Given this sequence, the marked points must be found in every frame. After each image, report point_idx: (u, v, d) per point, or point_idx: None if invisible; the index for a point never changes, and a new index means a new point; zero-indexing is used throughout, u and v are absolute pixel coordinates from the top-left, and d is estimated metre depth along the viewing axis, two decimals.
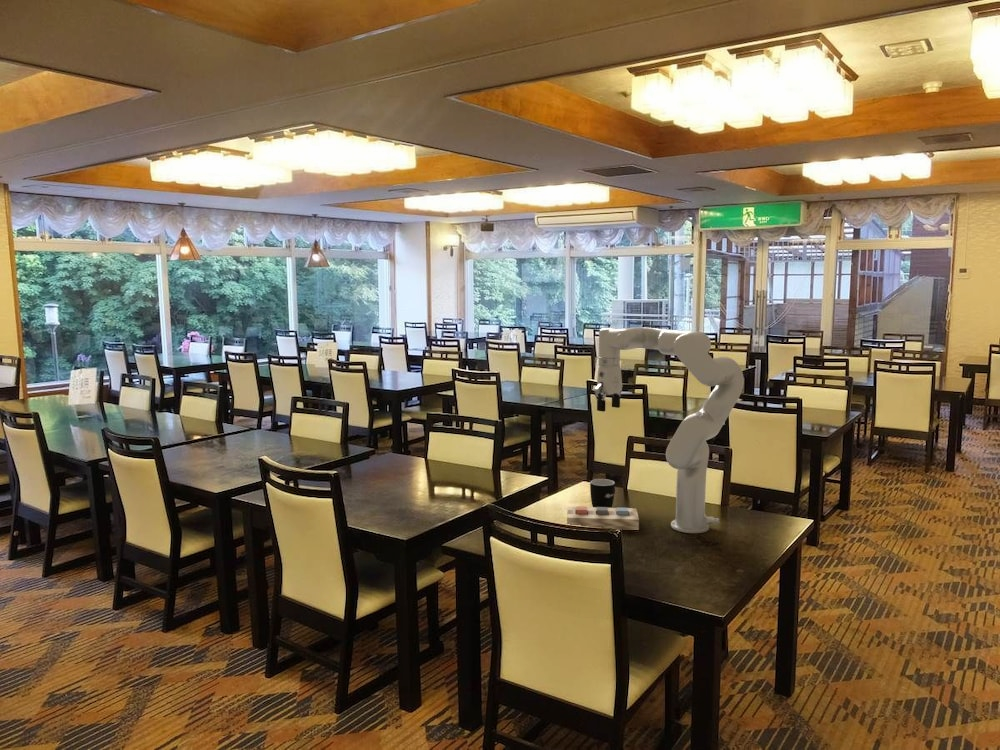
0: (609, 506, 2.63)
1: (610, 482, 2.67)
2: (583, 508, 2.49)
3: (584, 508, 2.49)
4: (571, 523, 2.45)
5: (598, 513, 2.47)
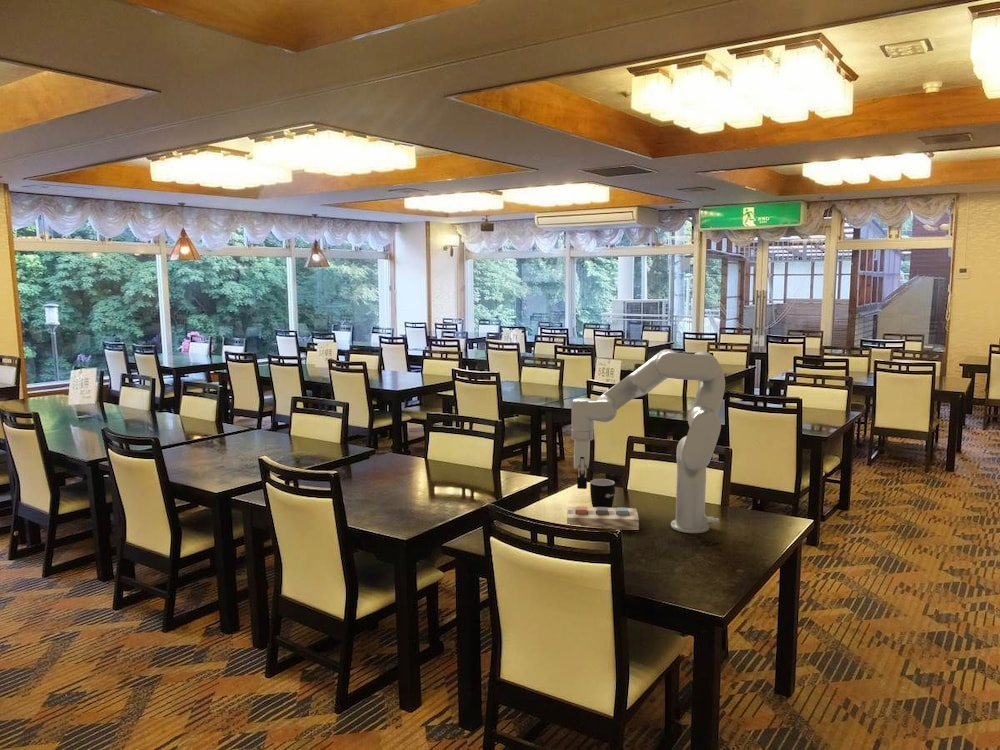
0: (609, 506, 2.63)
1: (610, 482, 2.67)
2: (583, 508, 2.49)
3: (584, 508, 2.49)
4: (571, 523, 2.45)
5: (598, 513, 2.47)
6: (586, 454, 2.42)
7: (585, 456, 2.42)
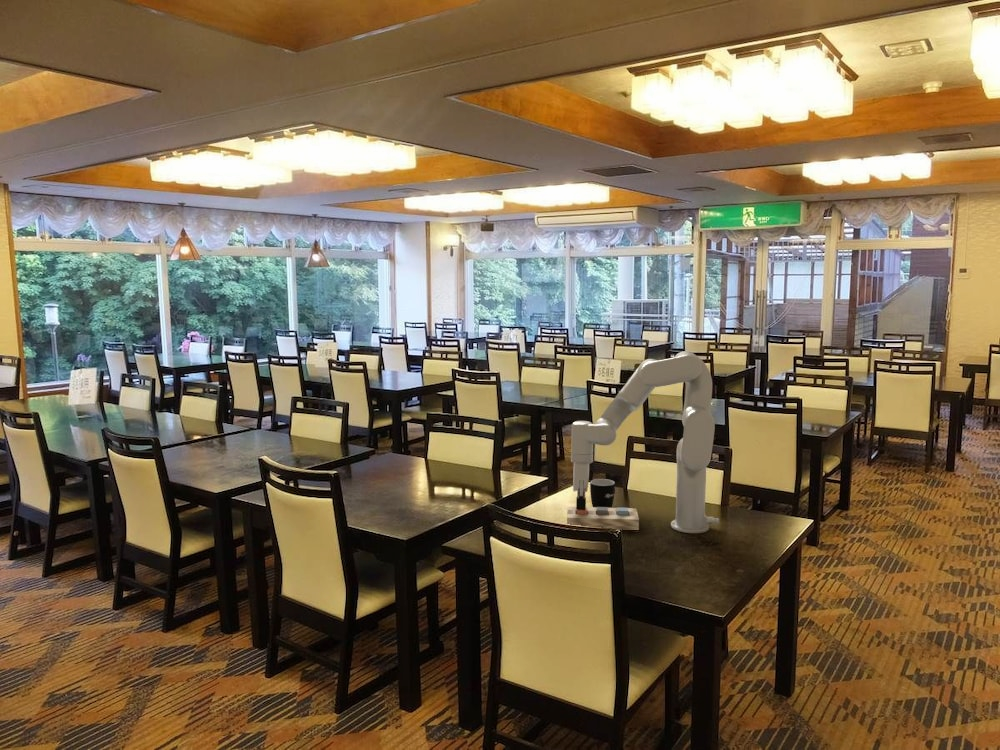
0: (609, 506, 2.63)
1: (610, 482, 2.67)
2: None
3: None
4: (571, 523, 2.45)
5: (598, 513, 2.47)
6: (585, 477, 2.43)
7: (584, 479, 2.43)
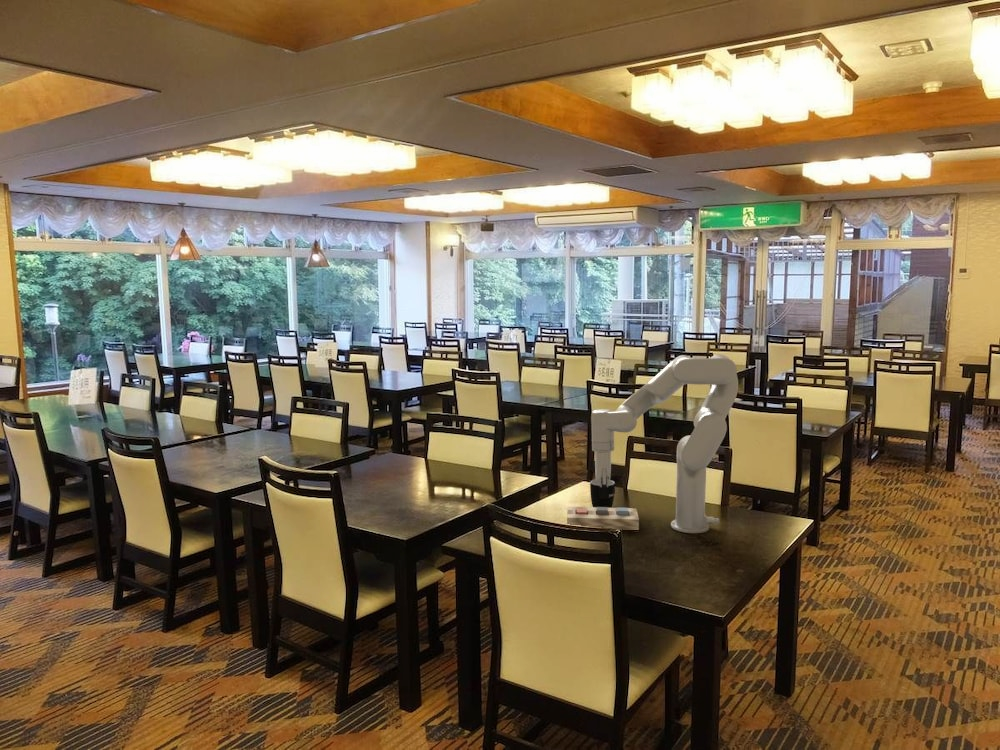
0: (609, 506, 2.63)
1: (610, 482, 2.67)
2: (583, 510, 2.49)
3: (584, 510, 2.49)
4: (571, 523, 2.45)
5: (598, 513, 2.47)
6: (608, 465, 2.42)
7: (607, 467, 2.42)
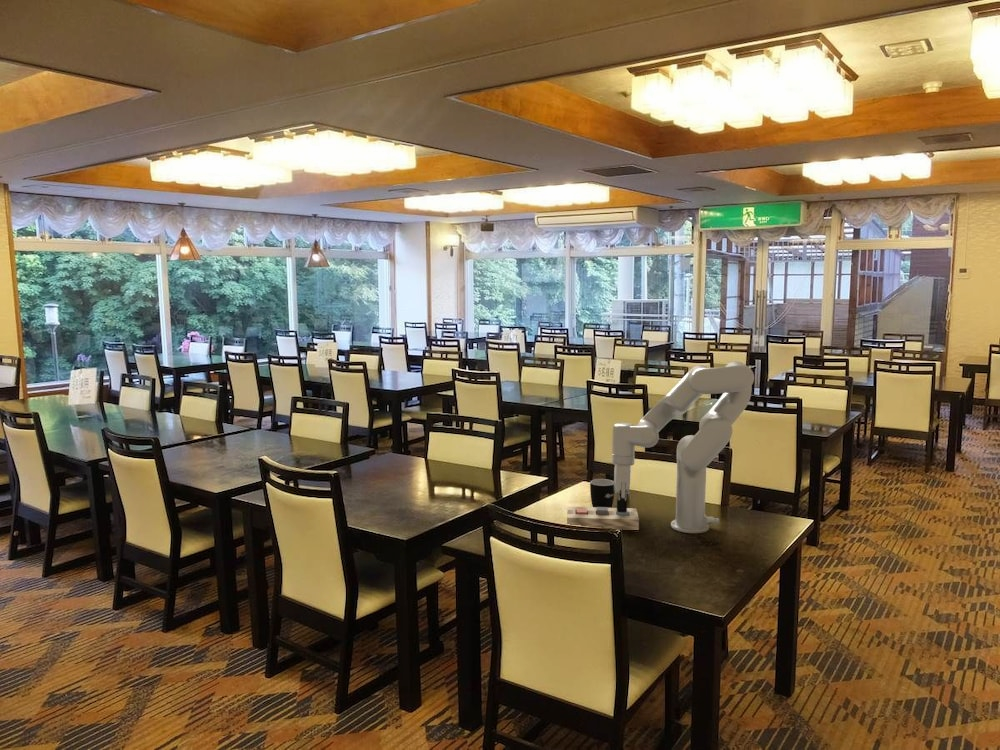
0: (609, 506, 2.63)
1: (610, 482, 2.67)
2: (583, 510, 2.49)
3: (584, 510, 2.49)
4: (571, 523, 2.45)
5: (598, 513, 2.47)
6: (627, 479, 2.42)
7: (626, 481, 2.42)
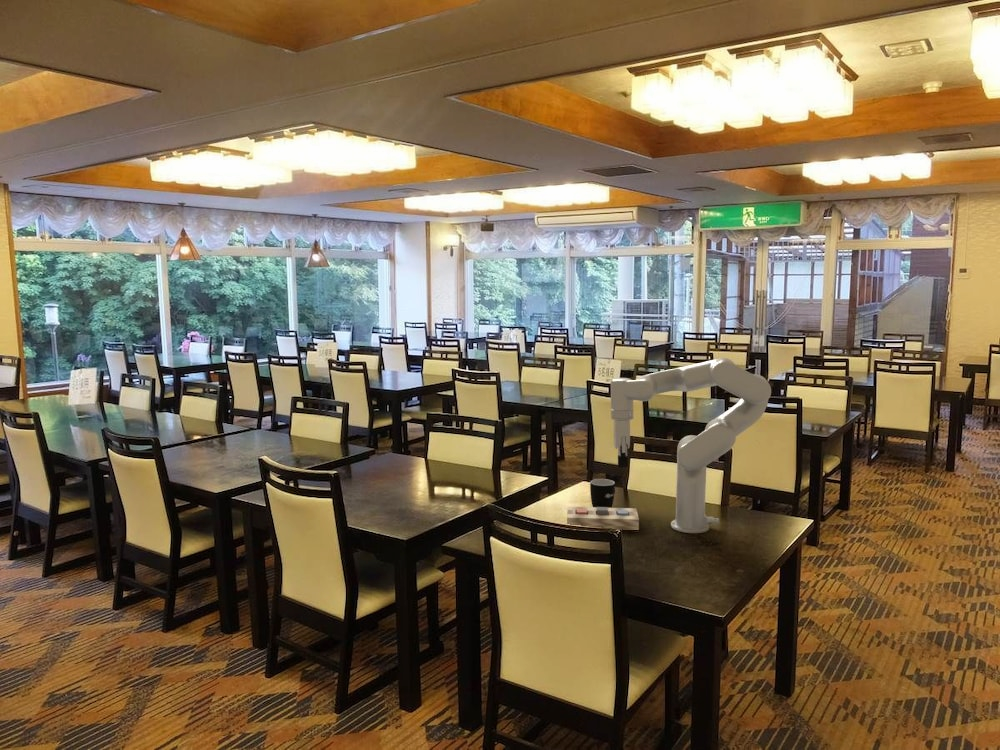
0: (609, 506, 2.63)
1: (610, 482, 2.67)
2: (583, 510, 2.49)
3: (584, 510, 2.49)
4: (571, 523, 2.45)
5: (598, 513, 2.47)
6: (627, 433, 2.42)
7: (626, 435, 2.42)
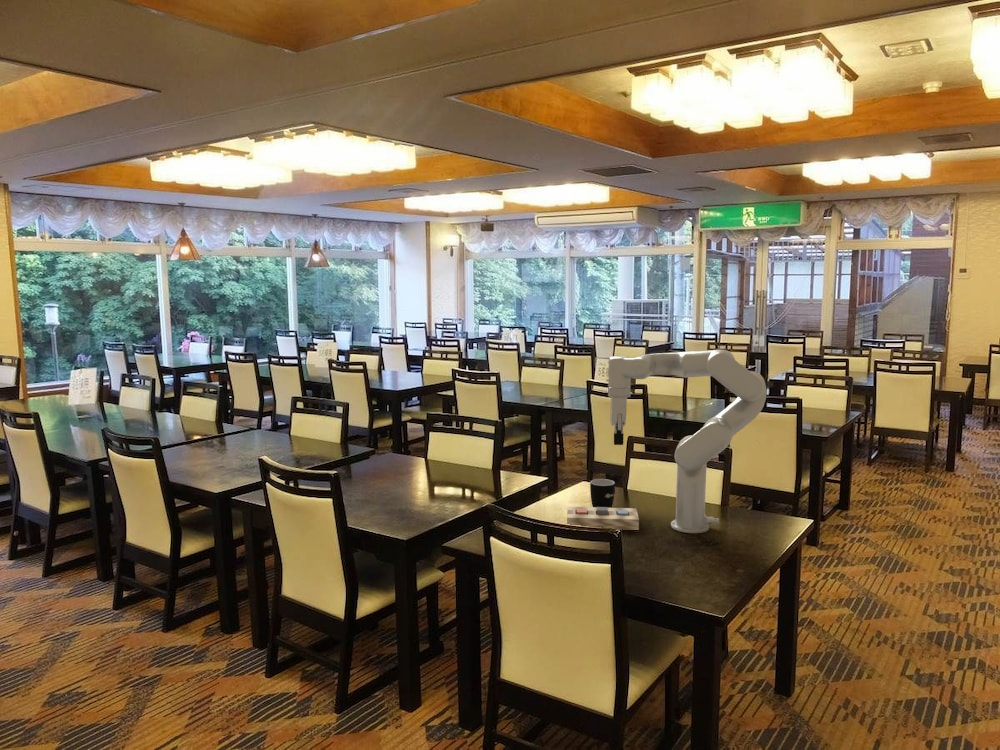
0: (609, 506, 2.63)
1: (610, 482, 2.67)
2: (583, 510, 2.49)
3: (584, 510, 2.49)
4: (571, 523, 2.45)
5: (598, 513, 2.47)
6: (623, 411, 2.44)
7: (622, 413, 2.44)
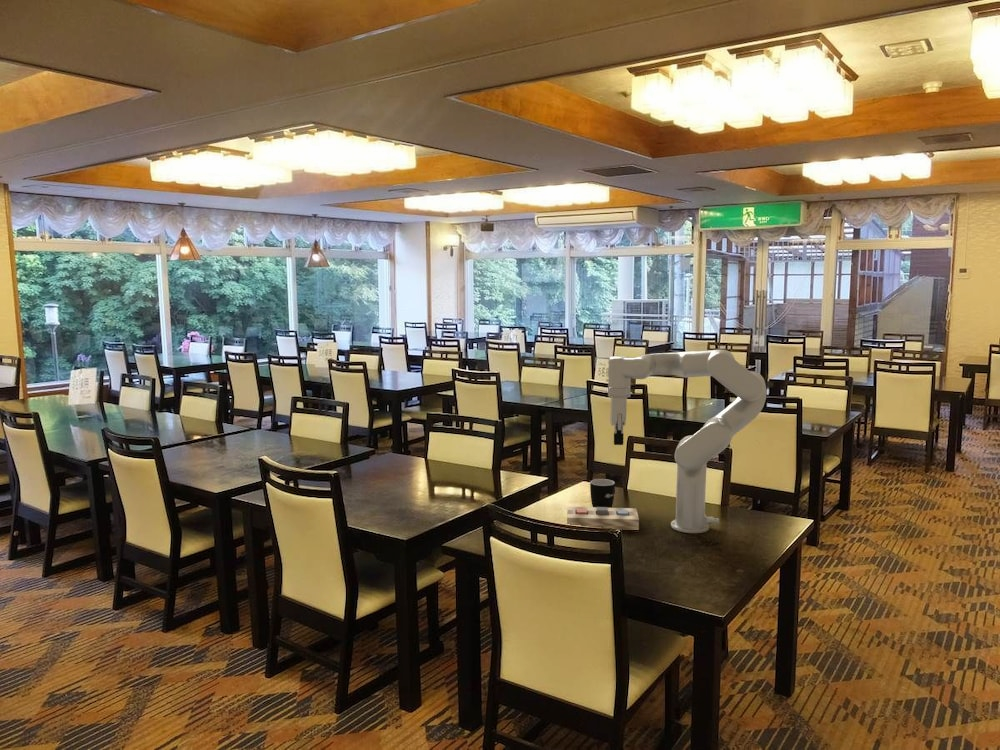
0: (609, 506, 2.63)
1: (610, 482, 2.67)
2: (583, 510, 2.49)
3: (584, 510, 2.49)
4: (571, 523, 2.45)
5: (598, 513, 2.47)
6: (623, 411, 2.44)
7: (622, 413, 2.44)
